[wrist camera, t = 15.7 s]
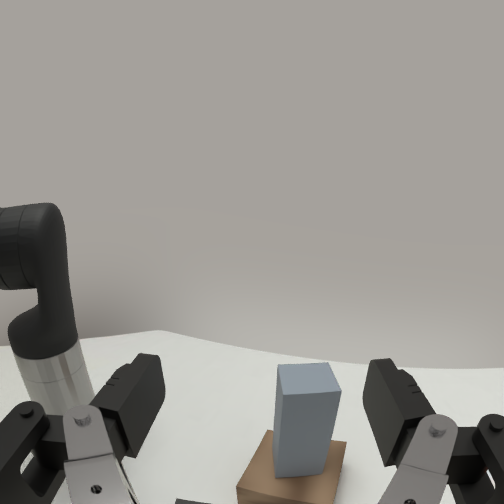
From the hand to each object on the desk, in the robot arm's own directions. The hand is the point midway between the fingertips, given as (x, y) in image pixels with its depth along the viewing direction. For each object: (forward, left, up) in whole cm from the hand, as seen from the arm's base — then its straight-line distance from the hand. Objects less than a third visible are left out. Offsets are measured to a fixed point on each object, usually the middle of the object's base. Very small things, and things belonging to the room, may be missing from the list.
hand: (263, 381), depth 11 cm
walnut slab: (-2, +13, -26) cm, 29 cm away
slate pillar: (-2, +14, -21) cm, 25 cm away
